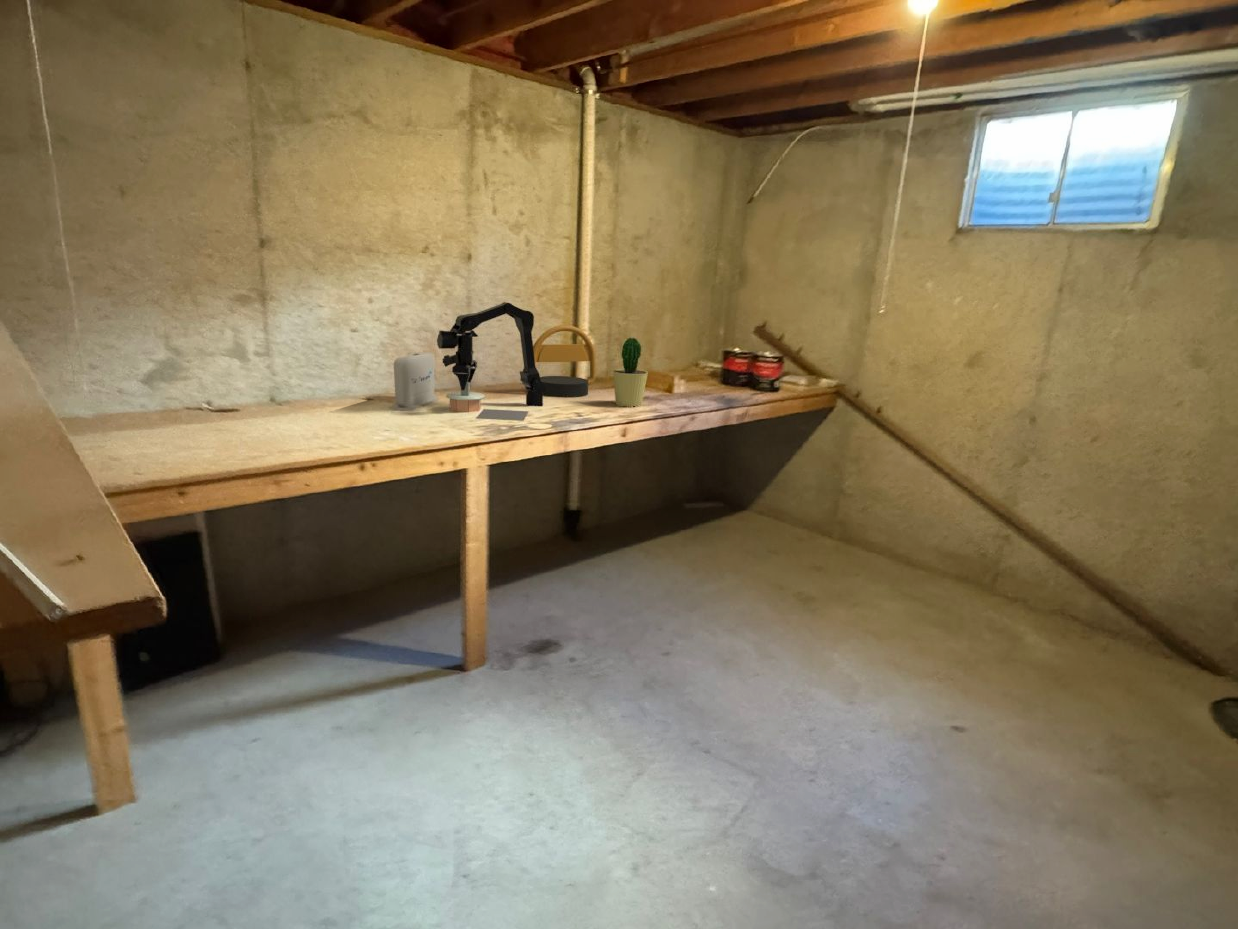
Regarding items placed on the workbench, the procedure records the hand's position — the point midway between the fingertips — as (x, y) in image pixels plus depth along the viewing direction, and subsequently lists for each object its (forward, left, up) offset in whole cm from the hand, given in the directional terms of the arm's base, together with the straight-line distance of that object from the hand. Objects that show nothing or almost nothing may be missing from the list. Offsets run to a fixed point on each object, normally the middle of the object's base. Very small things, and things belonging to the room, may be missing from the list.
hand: (465, 388), depth 271 cm
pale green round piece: (0, 0, -3) cm, 3 cm away
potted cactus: (-66, -30, -9) cm, 73 cm away
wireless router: (+22, -9, -9) cm, 25 cm away
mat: (-16, +7, -9) cm, 20 cm away
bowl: (0, 0, -9) cm, 9 cm away
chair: (-35, -52, -9) cm, 63 cm away
